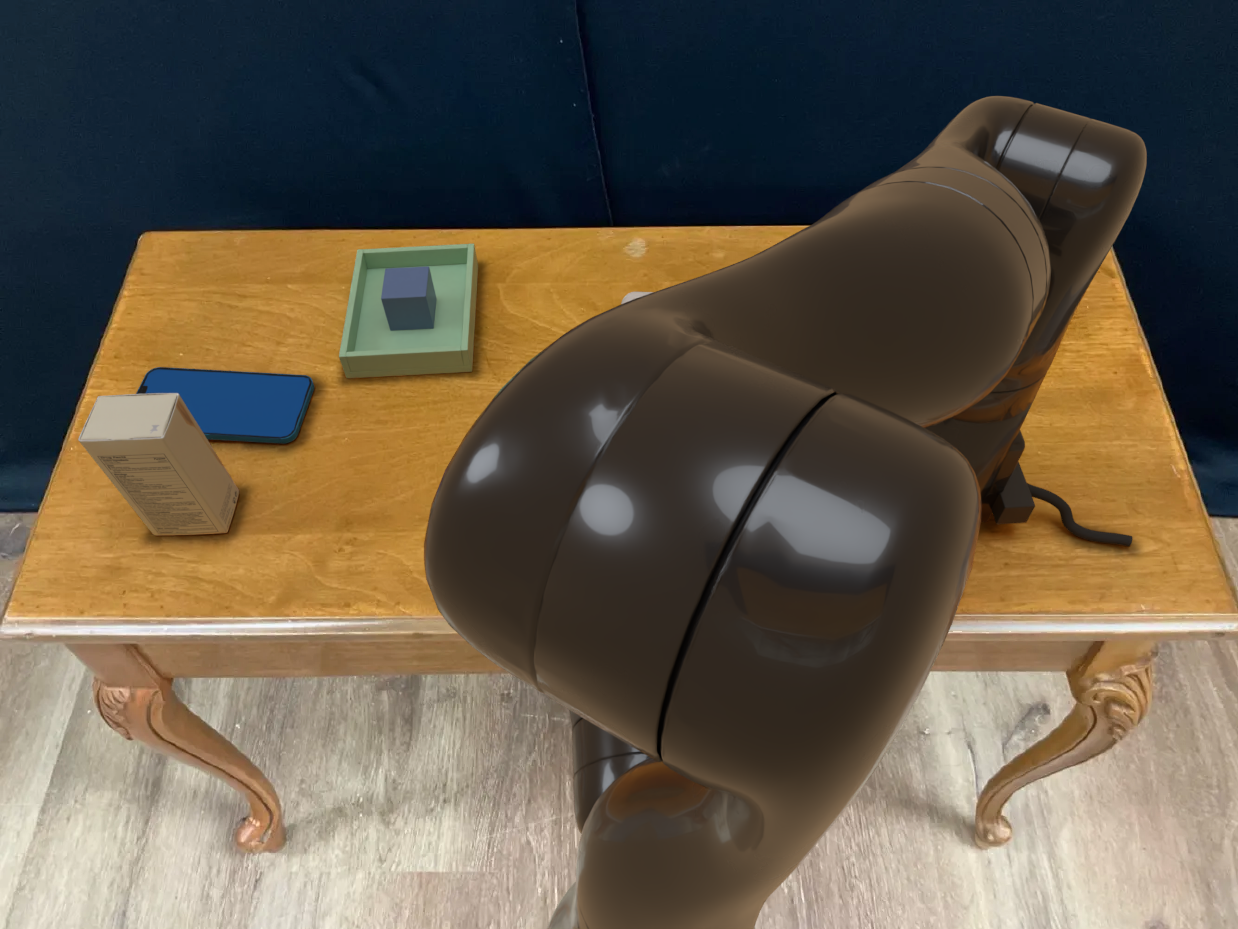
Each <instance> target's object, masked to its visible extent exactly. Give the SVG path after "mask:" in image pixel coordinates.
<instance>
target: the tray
mask: <svg viewBox="0 0 1238 929" xmlns="http://www.w3.org/2000/svg"><path fill="white" fill-rule="evenodd" d="M426 266H429V268H430V273H431V277H432V281H433V285H434V290H435V294H436V298H437V299H436V310H435V321H434V328H433V329H414V330H395V331H390V328H389V324H388V321H387V318H386V314H385V311H384V307H383V304H382V301H381V295H382V288H383V281H384V274H385V269H387V268H407V267H426ZM478 275H479V263H478V257H477V251H476V246H475V243H457V244H456V243H455V244H439V245H435V244H434V245H419V246H418V245H417V246H403V247H402V246H399V247H379V248H361V249H360V248H358V249H356V255H355V261H354V267H353V272H352V278H351V283H350V284H351V285H350V290H349V296H348V302H347V307H346V313H345V319H344V324H343V329H342V330H343V331H342V336H341V342H340V349H339V353H338V358H339V361H340V364H341V367H342V369H343V373H344V375H345V378H346V379H360V378H362V379H363V378H381V377H399V376H419V375H435V374H454V373H455V374H456V373H472V372H473V365H474V348H475V347H474V346H475V332H476V331H475V329H476V312H477V297H478V296H477V294H478V293H477V292H478V278H479V276H478Z"/></svg>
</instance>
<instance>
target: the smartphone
mask: <svg viewBox="0 0 1238 929" xmlns="http://www.w3.org/2000/svg"><path fill="white" fill-rule="evenodd" d="M314 391H315V384H314V381H313V379H312V377H310V376H309V375H307V374H293V373H292V374H291V373H275V372H274V373H273V372H259V371H258V372H255V371H238V370H223V369H221V370H220V369H202V368H201V369H200V368H187V367H185V368H184V367H165V366H158V367H157V366H156V367H154V368H151V369H150V370H148V371H147V372H146V373H145V374H144V377H143V379H142V381H141V383H140V384H139V387H138V389H137V391H136V392H135V394H147V393H178V394H179V395H180V397H181V398H182V400H183V401H184V403H185V405H186V406H187V408H188V409H189V411H190V413H191V414H192V416H193V417H194V419H195V421H196V422H197V424H198V425H199V427H200V428H201V430H202V432H203V433H204V435H205V436H206V438H207V440H214V441H233V442H246V443H247V442H250V443H265V444H281V445H283V444H289V443H292V442H293V441H295V440H296V439H297V437H298V435H299V434H300V430H301V428H302V424H303V422H304V419H305V416H306V413H307V410H308V407H309V405H310V403H311V399H312V396H313V393H314Z"/></svg>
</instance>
